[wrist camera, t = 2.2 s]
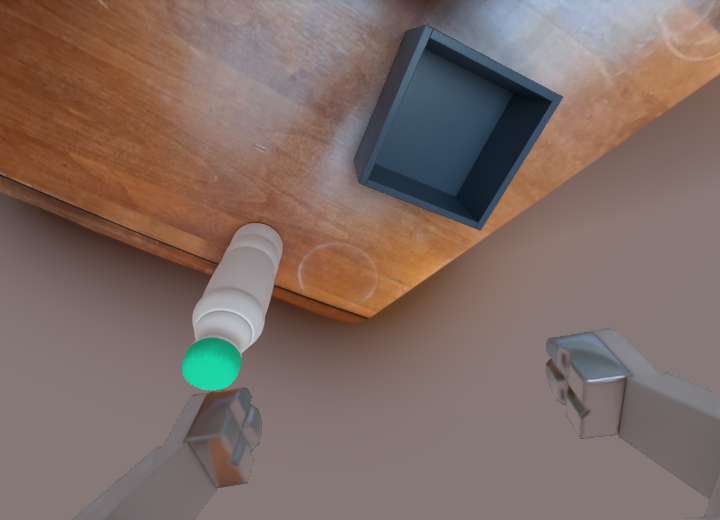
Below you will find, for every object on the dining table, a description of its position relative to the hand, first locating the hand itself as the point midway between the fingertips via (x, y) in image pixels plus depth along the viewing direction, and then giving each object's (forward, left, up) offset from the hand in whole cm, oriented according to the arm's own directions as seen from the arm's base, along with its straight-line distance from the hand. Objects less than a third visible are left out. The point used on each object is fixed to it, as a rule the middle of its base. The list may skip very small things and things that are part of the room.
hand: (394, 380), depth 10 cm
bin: (+10, +4, -41) cm, 43 cm away
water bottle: (-6, -20, -41) cm, 46 cm away
